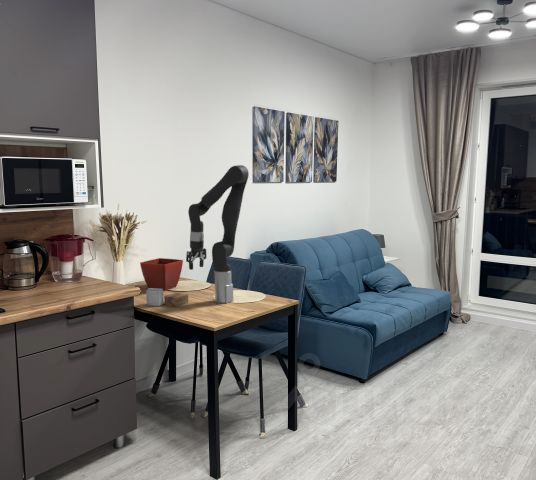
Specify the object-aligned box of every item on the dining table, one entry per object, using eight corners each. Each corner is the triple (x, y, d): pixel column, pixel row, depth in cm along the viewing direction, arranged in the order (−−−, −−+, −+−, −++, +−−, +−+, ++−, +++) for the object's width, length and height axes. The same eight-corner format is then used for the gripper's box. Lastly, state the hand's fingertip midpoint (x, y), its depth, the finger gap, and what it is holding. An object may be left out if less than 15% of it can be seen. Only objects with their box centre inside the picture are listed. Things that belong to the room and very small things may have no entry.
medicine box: (163, 304, 264) (163, 288, 263) (159, 306, 260) (159, 290, 259) (150, 303, 266) (150, 287, 265) (146, 305, 262) (145, 289, 261)
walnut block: (188, 303, 266) (188, 294, 265) (177, 307, 259) (176, 298, 258) (176, 301, 271) (175, 292, 270) (164, 305, 263) (164, 296, 263)
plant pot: (160, 283, 315) (159, 257, 313) (184, 286, 306) (183, 259, 304) (140, 289, 298) (139, 262, 296) (165, 292, 289) (164, 264, 287)
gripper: (193, 242, 261) (192, 271, 264) (210, 238, 273) (209, 267, 276) (182, 240, 265) (182, 269, 268) (200, 237, 277) (199, 265, 280)
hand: (196, 268), depth 272 cm, fingers open, 8 cm apart
